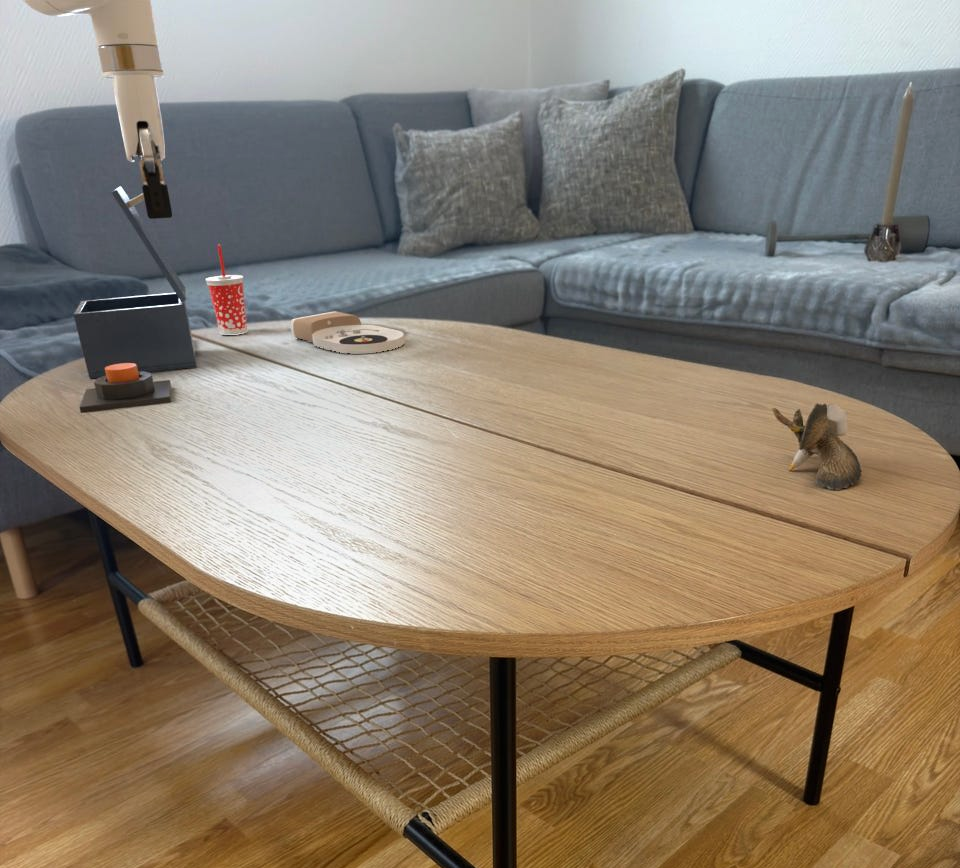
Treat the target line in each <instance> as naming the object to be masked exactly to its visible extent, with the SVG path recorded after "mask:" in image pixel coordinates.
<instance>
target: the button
mask: <svg viewBox="0 0 960 868" xmlns="http://www.w3.org/2000/svg"><path fill="white" fill-rule="evenodd" d="M105 372H106V376H107V380H108V382H125V381H131V380H135V379H138V378H139V374H138V369H137V365H136V364H134V363H121V364H114V365H110V366H107V367H105Z"/></svg>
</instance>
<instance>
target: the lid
mask: <svg viewBox="0 0 960 868" xmlns="http://www.w3.org/2000/svg"><path fill="white" fill-rule="evenodd" d="M111 195H112V196H113V198H114V199H115V201H116V202H117V204H118V206H119V207H120V209H121V210H122V212H123V213H124V215H125V216H126V219H127V221H129V223H130V224H131V226H132V228H133V229H134V231H135V232H136V234H137V235H138V237H139V238H140V240H141V241H142V243H143V245H144V246H145V248H146V249H147V251H148V252H149V254H150V256H151V257H152V259H153V260H154V262H155V263H156V265H157V267H158V268H159V270H160V272H161V273H162V275H163V276H164V278H165V279H166V280H167V282H168V284H169V286H170V287H171V288H172V290H173V291H174V293H176V294H177V296H178V298H179V299H180V301H181V302H183V301H185V302H186V301H187V293H186V292H187V291H186V286H185V285H184V283H183V282H182V279H181V278H180V277H179V276H178V273H177V272H176V271H175V268H173V265H172V264H171V263H170V260H169V259H168V258H167V257H166V255H165V253H164V252H163V250H162V248H161V247H160V245H159V244H158V242H157V241H156V239H155V238H154V236H153V234H152V232H151V231H150V229H149V228H148V226H147V225H146V223H145V221H144V220H143V218H142V217H141V215H140V213H139V212H138V211H137V209H136V207H135V206H136V205H138V204H140V203H142V202H143V201H145V200H144V195H143V192H142V193H140V194H139V195H137V196H134V197H133V198H131V199H130V197H129V196H128V194H127V193H126V191H125V190H124V188H123V187H122V186H119V187H117V188H115V189H114V190H112V191H111Z"/></svg>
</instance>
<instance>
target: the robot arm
mask: <svg viewBox="0 0 960 868" xmlns="http://www.w3.org/2000/svg"><path fill="white" fill-rule="evenodd" d="M22 1H23V2H24V4H26V5H27V6H28V7H30V8H31V9H33V10H34V11H36V12H38V13H41V14H42V15H45V16H51V17H65V16H75V15H77V16H78V15H89V16H90V19H91V22H92V28H93V32H94V36H95V42H96V46H97V51H98V56H99V62H100V67H101V71H102V77H103V79H105V80H106V79H107V80H112V85H113V92H114V99H115V104H116V105H115V106H116V110H117V114H118V115H117V116H118V120H119V124H120V130H121V136H122V140H123V146H124V150H125V155H126V160H127V161H128V162H130V163H135V158H134V157H137V159H138V165H139V170H140V174H141V181H142V184H143V185H142V186H141V189H142V193H143V195H144V200H143V201H144V204H145V210H146V214H147V218H149V219H150V220H155V219H171V218H172V217H173V210H172V205H171V200H170V195H169V189H168V184H167V183H165V176H164V171H163V166H162V161H163V160H165V159H166V147H165V135H164V127H163V119H162V112H161V107H160V100H159V95H158V90H157V82H156V80H157V79H162V78H163V79H164V77H165V74H164V69H163V63H162V57H161V51H160V47H159V41H158V35H157V29H156V24H155V18H154V13H153V7H152V1H151V0H22Z"/></svg>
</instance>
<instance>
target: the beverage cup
mask: <svg viewBox="0 0 960 868" xmlns="http://www.w3.org/2000/svg"><path fill="white" fill-rule="evenodd" d="M217 251H218V256H219V257H218V258H219V263H220V269H221V275H217V276H209V277H207V278H205V282H206V285H207V287H208V290H209V294H210V298H211V302H212V307H213V310H214V315H215V319H216V323H217V327H218V332H219V335H220V334H238V333H243V332H246V331H248V321H247V313H246V312H247V311H246V303H245V294H244V285H243V283H244V275H240V274H226V271H225V263H224V259H223V251H222V246H221V244H217Z"/></svg>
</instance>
